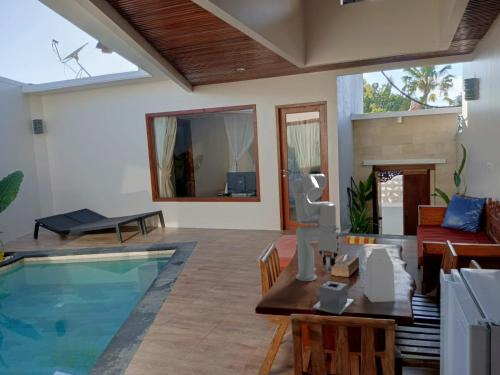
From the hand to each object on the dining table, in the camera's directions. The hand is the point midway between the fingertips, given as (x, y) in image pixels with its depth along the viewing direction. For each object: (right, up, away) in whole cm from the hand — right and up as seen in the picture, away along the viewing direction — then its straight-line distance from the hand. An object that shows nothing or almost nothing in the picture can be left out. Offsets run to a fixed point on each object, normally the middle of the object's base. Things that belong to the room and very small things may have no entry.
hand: (329, 264), depth 195 cm
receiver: (+2, -20, 0) cm, 20 cm away
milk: (+28, -19, +8) cm, 34 cm away
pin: (0, -3, 0) cm, 3 cm away
